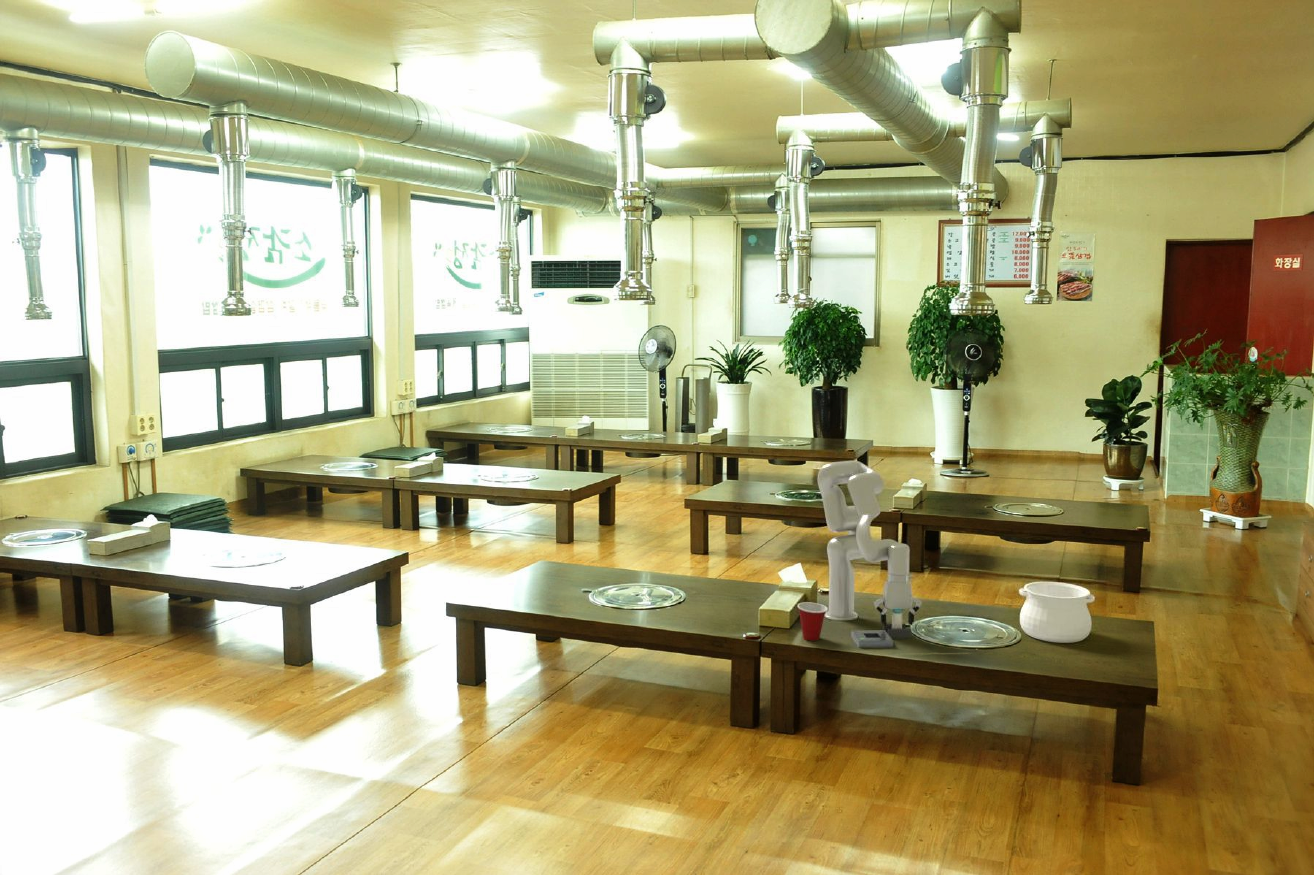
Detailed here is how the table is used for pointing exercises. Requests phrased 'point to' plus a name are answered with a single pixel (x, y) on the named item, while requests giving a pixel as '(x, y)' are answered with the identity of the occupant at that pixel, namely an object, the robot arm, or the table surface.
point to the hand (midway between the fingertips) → (897, 624)
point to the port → (871, 638)
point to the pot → (1056, 612)
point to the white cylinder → (897, 619)
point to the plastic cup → (811, 619)
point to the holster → (897, 631)
